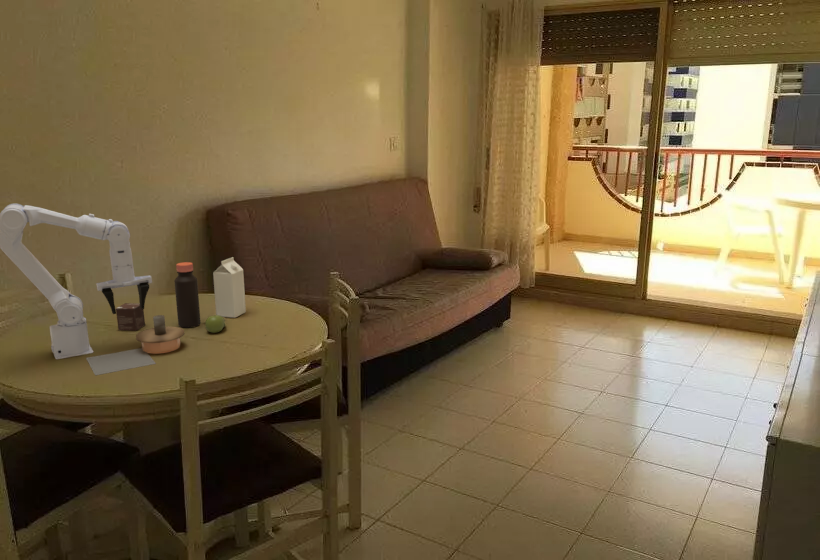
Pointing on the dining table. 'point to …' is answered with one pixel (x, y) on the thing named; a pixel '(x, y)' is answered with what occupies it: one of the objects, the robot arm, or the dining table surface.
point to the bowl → (161, 346)
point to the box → (130, 317)
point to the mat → (119, 361)
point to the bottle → (187, 296)
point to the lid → (159, 332)
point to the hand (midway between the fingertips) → (128, 310)
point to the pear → (215, 323)
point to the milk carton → (229, 289)
